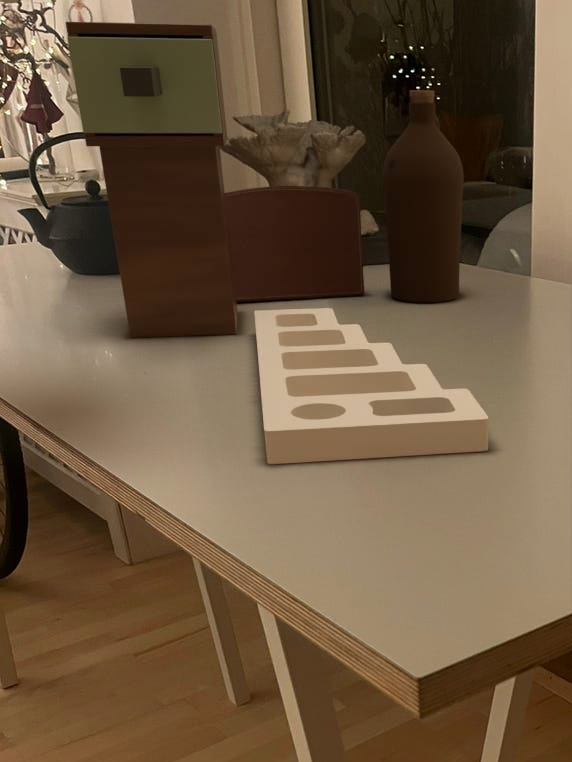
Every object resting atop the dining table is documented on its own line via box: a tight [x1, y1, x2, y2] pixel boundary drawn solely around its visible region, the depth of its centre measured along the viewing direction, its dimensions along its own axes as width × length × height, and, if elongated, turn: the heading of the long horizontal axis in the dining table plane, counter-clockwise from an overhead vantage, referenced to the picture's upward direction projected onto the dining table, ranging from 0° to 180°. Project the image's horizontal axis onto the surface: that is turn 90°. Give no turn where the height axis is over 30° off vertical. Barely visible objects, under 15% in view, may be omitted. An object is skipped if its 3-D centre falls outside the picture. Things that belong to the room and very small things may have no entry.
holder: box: [253, 307, 489, 465], centre depth 98 cm, size 45×18×3 cm, turn 12°
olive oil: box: [382, 89, 465, 304], centre depth 131 cm, size 11×11×25 cm
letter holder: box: [225, 186, 365, 303], centre depth 134 cm, size 10×20×14 cm, turn 111°
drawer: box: [66, 36, 222, 134], centre depth 102 cm, size 23×14×8 cm, turn 11°
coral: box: [220, 109, 389, 266], centre depth 158 cm, size 25×20×22 cm
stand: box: [65, 21, 239, 339], centre depth 112 cm, size 14×14×31 cm
